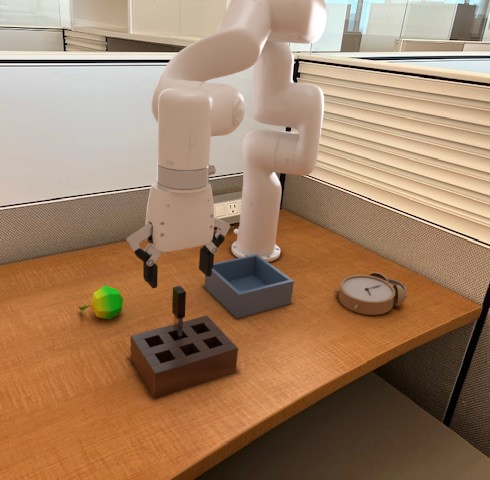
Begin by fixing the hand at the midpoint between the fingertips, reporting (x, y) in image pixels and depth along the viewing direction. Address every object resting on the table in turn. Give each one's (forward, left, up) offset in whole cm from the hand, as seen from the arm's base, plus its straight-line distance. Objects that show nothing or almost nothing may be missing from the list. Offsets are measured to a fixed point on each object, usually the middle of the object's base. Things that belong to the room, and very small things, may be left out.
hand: (178, 278), depth 77 cm
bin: (-13, +23, -16) cm, 31 cm away
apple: (-18, -8, -16) cm, 26 cm away
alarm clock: (0, +47, -16) cm, 50 cm away
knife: (0, 0, -16) cm, 16 cm away
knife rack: (+2, 0, -16) cm, 16 cm away
